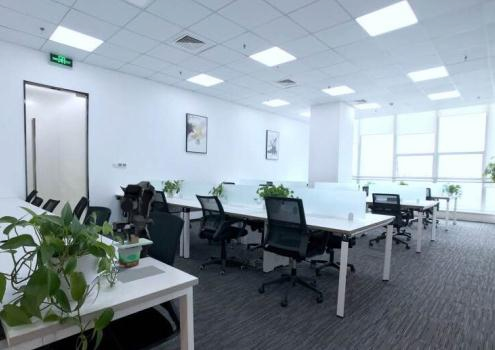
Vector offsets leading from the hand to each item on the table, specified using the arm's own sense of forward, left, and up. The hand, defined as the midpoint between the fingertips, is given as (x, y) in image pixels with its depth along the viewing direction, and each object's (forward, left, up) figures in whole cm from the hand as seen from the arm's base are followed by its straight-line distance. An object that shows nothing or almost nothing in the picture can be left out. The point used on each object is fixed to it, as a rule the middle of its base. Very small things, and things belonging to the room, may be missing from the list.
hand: (132, 240), depth 138 cm
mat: (+12, -2, -13) cm, 18 cm away
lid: (0, 0, -2) cm, 2 cm away
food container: (0, 0, -13) cm, 13 cm away
